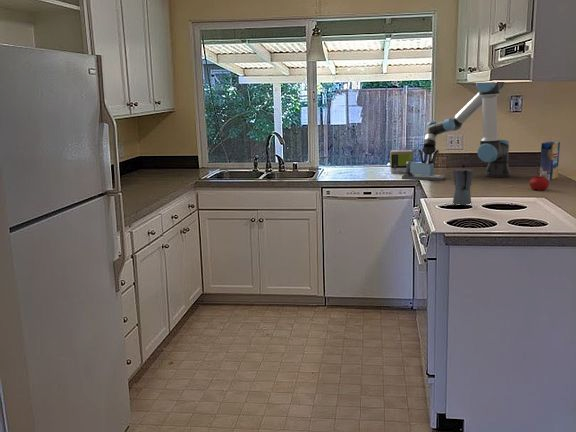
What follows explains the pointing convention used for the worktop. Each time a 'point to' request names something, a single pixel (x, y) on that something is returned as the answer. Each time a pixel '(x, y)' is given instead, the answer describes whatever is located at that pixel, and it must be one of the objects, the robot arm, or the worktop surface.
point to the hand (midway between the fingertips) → (426, 171)
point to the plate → (423, 177)
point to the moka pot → (462, 185)
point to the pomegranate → (539, 183)
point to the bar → (420, 168)
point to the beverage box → (549, 160)
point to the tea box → (400, 160)
